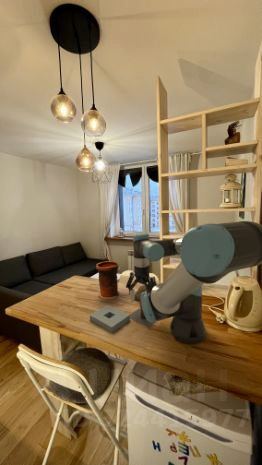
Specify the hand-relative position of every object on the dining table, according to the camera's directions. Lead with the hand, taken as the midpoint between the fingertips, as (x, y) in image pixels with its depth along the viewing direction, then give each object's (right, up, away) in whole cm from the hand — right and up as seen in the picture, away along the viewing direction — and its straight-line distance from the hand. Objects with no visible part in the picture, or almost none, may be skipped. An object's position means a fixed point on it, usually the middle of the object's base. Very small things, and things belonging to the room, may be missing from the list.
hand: (142, 305), depth 98 cm
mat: (0, -6, +1) cm, 6 cm away
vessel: (-20, -3, +29) cm, 35 cm away
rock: (+1, -4, +20) cm, 20 cm away
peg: (0, -6, +1) cm, 6 cm away
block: (-17, -7, -1) cm, 18 cm away
